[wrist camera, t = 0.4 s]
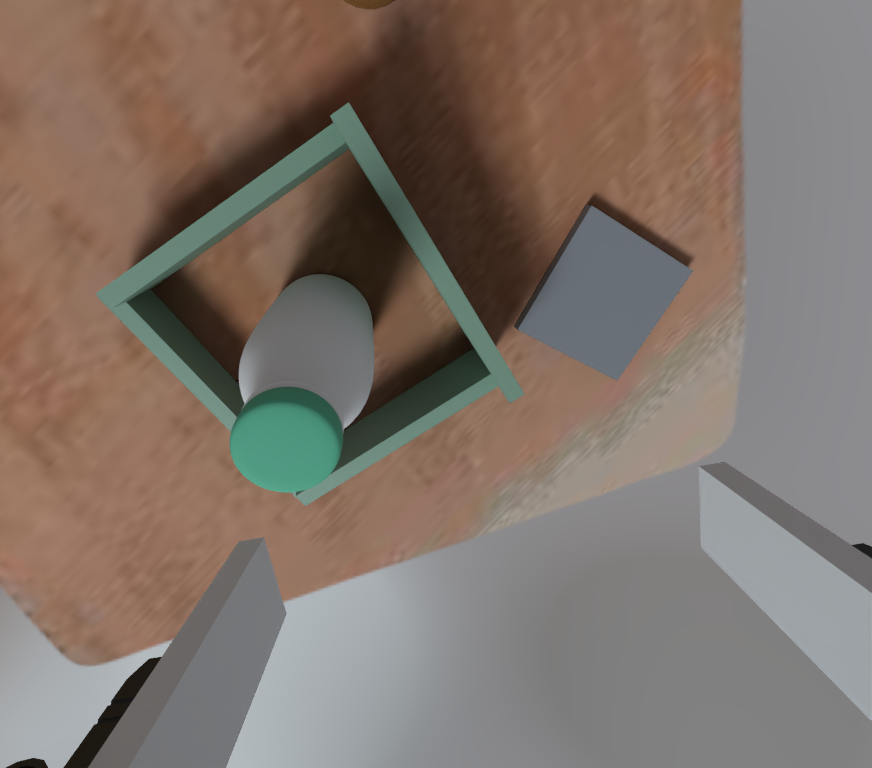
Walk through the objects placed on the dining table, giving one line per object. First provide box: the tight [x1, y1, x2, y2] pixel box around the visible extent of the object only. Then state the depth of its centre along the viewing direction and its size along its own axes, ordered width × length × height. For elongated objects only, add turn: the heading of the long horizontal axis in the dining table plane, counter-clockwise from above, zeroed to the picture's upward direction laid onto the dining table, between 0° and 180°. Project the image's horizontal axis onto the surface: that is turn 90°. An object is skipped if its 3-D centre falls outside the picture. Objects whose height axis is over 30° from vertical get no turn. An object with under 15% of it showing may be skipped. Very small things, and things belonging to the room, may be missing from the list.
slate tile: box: [514, 205, 693, 380], centre depth 40 cm, size 11×11×1 cm
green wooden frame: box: [96, 102, 524, 506], centre depth 33 cm, size 20×20×9 cm
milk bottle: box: [230, 274, 374, 492], centre depth 28 cm, size 8×8×20 cm
